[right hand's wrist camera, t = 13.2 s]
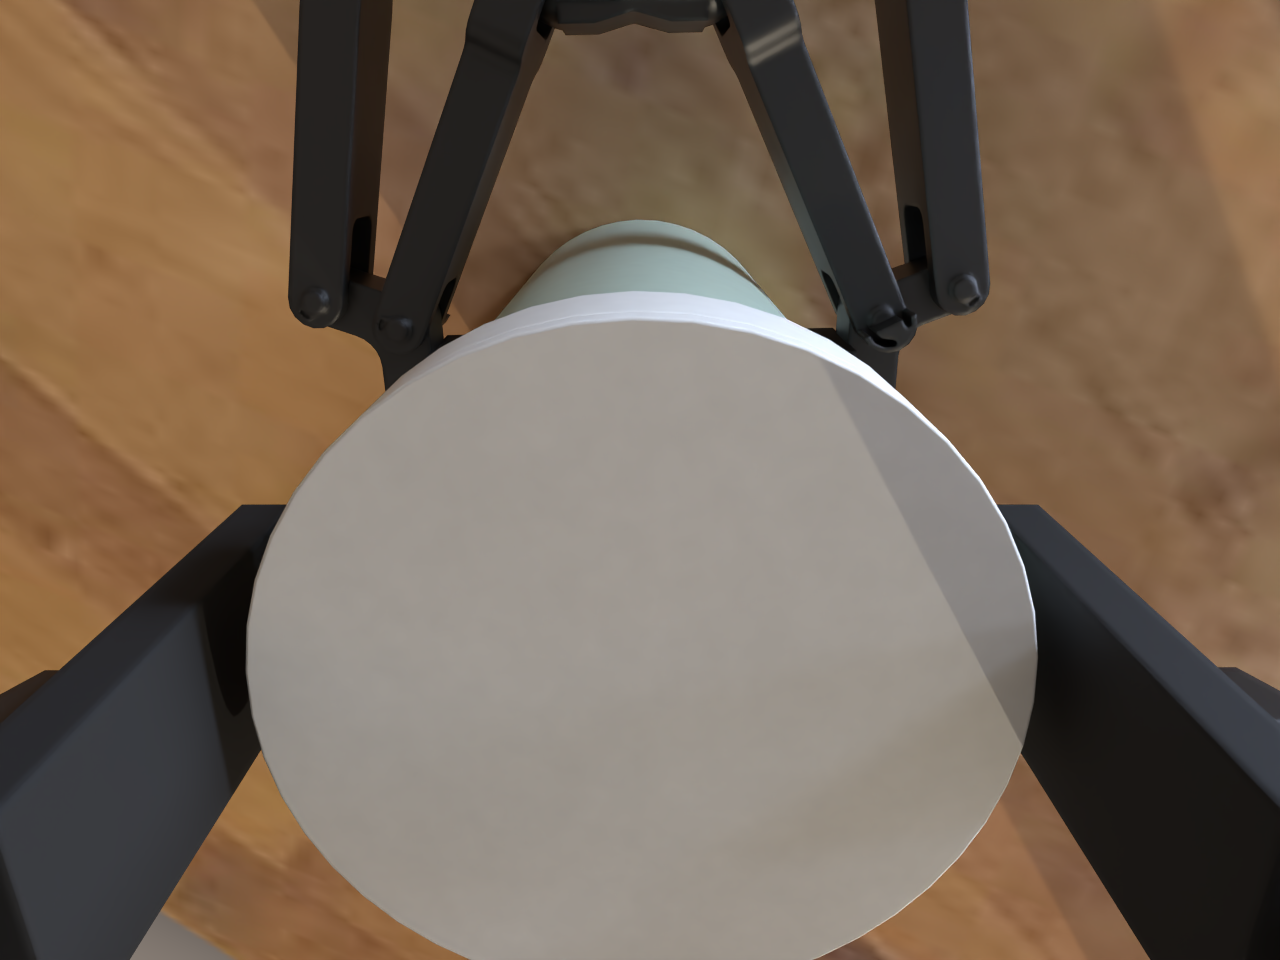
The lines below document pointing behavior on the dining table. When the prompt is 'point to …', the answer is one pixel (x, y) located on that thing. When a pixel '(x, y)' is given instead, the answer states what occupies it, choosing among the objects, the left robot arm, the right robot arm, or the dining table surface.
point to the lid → (641, 641)
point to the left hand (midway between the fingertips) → (644, 580)
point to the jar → (640, 267)
